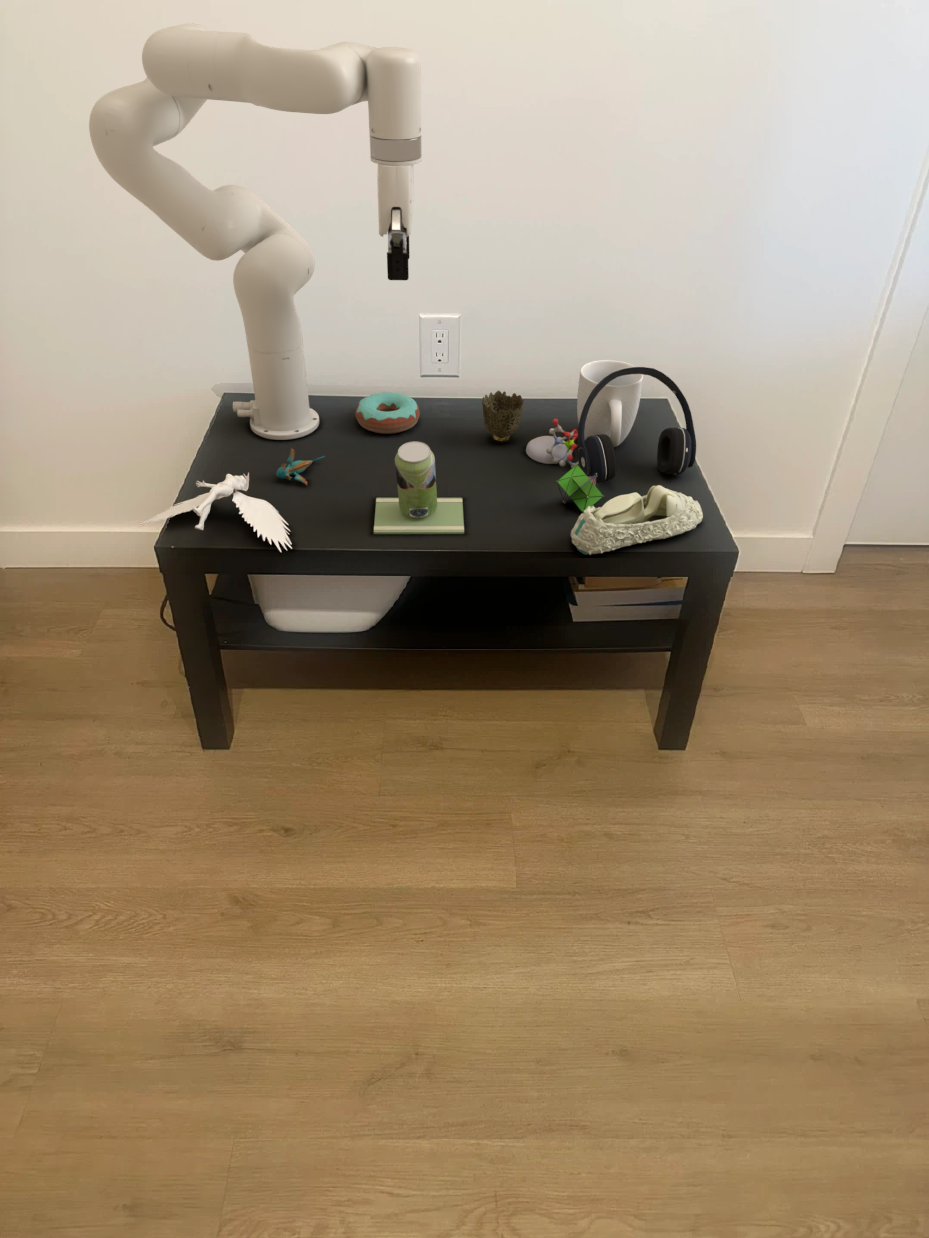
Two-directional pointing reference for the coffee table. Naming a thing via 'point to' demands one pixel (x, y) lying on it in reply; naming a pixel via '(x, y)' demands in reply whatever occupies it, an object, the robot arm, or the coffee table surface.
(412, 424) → the donut
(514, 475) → the coffee table surface
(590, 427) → the mug
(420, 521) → the towel mat
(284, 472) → the dragon figurine
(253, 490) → the coffee table surface
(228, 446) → the coffee table surface
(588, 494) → the green polyhedron model
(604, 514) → the ballet flat
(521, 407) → the cup
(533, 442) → the white pebble
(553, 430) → the molecular model
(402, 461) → the beverage can
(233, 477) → the figurine
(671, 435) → the earphone
